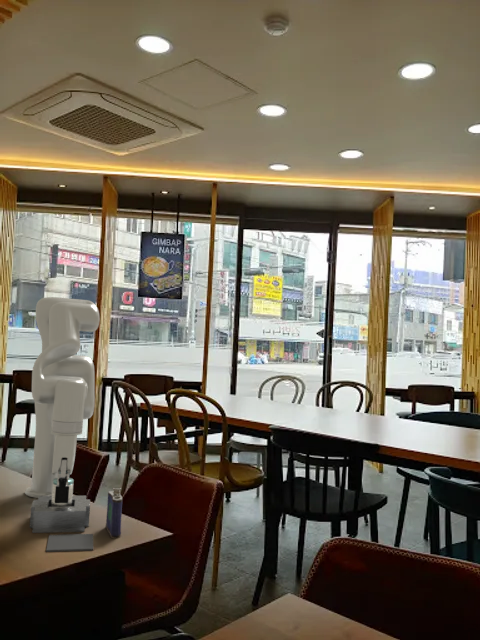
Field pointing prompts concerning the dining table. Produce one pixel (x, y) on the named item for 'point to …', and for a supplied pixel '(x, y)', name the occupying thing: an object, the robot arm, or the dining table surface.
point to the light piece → (69, 503)
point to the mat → (70, 542)
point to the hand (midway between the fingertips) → (61, 498)
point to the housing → (59, 515)
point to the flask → (114, 513)
